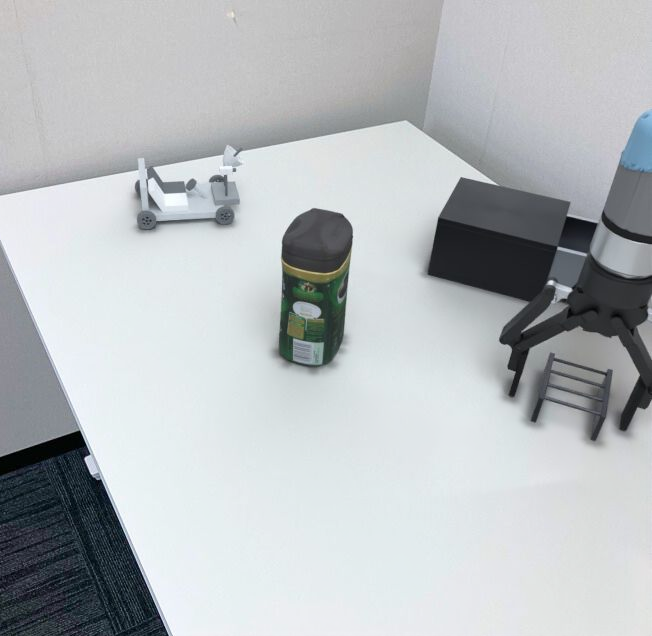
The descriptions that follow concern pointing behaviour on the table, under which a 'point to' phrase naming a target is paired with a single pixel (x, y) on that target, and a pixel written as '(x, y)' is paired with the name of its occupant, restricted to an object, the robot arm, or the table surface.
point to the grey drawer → (572, 249)
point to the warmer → (497, 238)
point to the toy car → (188, 195)
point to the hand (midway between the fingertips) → (567, 405)
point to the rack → (601, 398)
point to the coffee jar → (314, 286)
